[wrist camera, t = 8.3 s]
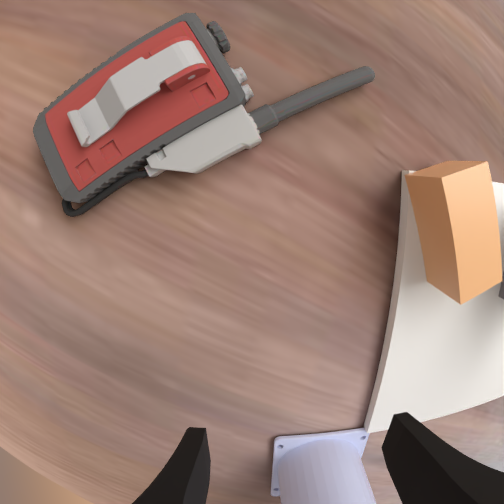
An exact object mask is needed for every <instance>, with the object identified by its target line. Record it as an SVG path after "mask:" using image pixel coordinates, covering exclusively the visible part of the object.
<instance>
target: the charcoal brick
mask: <svg viewBox="0 0 504 504" xmlns="http://www.w3.org/2000/svg"><path fill="white" fill-rule="evenodd" d="M499 297H500V298H502V299H504V271H503V276H502V281H501V286H500V291H499Z"/></svg>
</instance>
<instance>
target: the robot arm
mask: <svg viewBox="0 0 504 504" xmlns="http://www.w3.org/2000/svg"><path fill="white" fill-rule="evenodd" d="M362 436H363V437H362ZM368 436H369V433H367V432H366V430H365V428H358V429H351V430H344V431H336V432H327V433H318V434H307V435H293V436H279V437H276V438H275V440H274V451H273V466H272V480H271V495H272V496H280V499H281V504H376V501H375V498H374V495H373V492H372V489H371V486H370V484H369V481H368V478H367V475H366V472H365V469H364V467H363V464H362V461H361V457H362V454H363V451H364V448H365V445H366V442H367V439H368ZM382 451H383V454H384V458H385V462H386V465H387V468H388V471H389V473H390V476H391V478H392V480H393V483H394V485H395V487H396V489H397V492H398V494H399V496H400V499H401V501H402V503H403V504H504V472H501V471H498V470H495V469H493V468H490V467H488V466H485V465H483V464H481V463H479V462H477V461H475V460H473V459H471V458H469V457H467V456H466V455H464V454H462V453H461V452H459V451H458V450H456V449H455V448H453V447H452V446H450V445H449V444H447V443H446V442H445V441H443V440H442V439H441V438H439V437H438V436H437V435H435V434H434V433H433V432H431V431H430V430H429V429H428V428H426V427H425V426H424V425H423V424H422V423H420V422H419V421H418V420H417V419H415V418H414V417H413V416H412V415H410V414H409V413H408V412H403V413H398V414H394V415H393V418H392V421H391V423H390V426H389V429H388V432H387V435H386V437H385V440H384V443H383V445H382ZM210 462H211V460H210V453H209V447H208V440H207V433H206V428H193V427H189V428H188V429H187V430H186V432H185V434H184V436H183V438H182V440H181V442H180V443H179V445H178V447H177V448H176V450H175V452H174V453H173V455H172V456H171V458H170V459H169V461H168V462H167V464H166V465H165V467H164V468H163V469H162V471H161V472H160V473H159V474H158V476H157V477H156V478H155V479H154V481H153V482H152V483H151V484H150V486H149V487H148V488H147V489H146V490H145V491H144V492H143V493H142V494H141V495H140V496H139V497H138V498H137V499H136V500H135V501H134V502H133V503H132V504H206V498H207V493H208V487H209V480H210Z"/></svg>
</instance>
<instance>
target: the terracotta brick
mask: <svg viewBox="0 0 504 504" xmlns="http://www.w3.org/2000/svg"><path fill="white" fill-rule="evenodd" d="M404 176H405V179H406V183H407V187H408V191H409V194H410V198H411V202H412V207H413V211H414V215H415V220H416V224H417V229H418V234H419V238H420V244H421V249H422V254H423V260H424V266H425V272H426V278H427V282H428V283H430V284H431V285H433V286H434V287H436V288H437V289H439V290H440V291H442V292H443V293H444V294H446V295H447V296H449V297H450V298H452V299H453V300H454V301H456V302H457V303H459V304H460V305H461V304H463V303H465V302H467V301H469V300H470V299H472V298H474V297H476V296H478V295H479V294H481V293H483V292H485V291H486V290H488V289H490V288H491V287H493V286H495V285H496V284H498V283H500V282H501V281H502V260H501V246H500V235H499V226H498V217H497V210H496V203H495V197H494V191H493V185H492V180H491V175H490V170H489V165H488V162H486V161H446V162H443V163H440V164H437V165H434V166H431V167H428V168H425V169H422V170H419V171H416V172H413V173H410V174H407V175H404Z"/></svg>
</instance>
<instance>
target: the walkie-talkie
mask: <svg viewBox="0 0 504 504" xmlns="http://www.w3.org/2000/svg"><path fill="white" fill-rule="evenodd" d="M229 50H230V44H229V41H228V39H227V37H226V35H225V33H224V31H223V30H222V28H221V27H220V26H219V24H218V23H216V22H214V21H212V22H210V23H208V24H207V29H206V28H205V27H204V25H203V24H202V22H201V20H200V19H199V18H198V16H197V15H196V14H195V13H185V14H183V15H181V16H179V17H177V18H175V19H173V20H171V21H169V22H167V23H166V24H164V25H162V26H160V27H158V28H156V29H155V30H153V31H151V32H149V33H148V34H146V35H144V36H143V37H141V38H139V39H138V40H136V41H134V42H133V43H131V44H130V45H128V46H126V47H125V48H123V49H122V50H120V51H119V52H117V54H116V55H114V56H113V57H110V58H109V59H108V60H107V61H106V62H103V63H101V65H100V66H98V67H97V68H94V69H93V71H92V72H90V73H89V74H88V73H87V74H86V75H85V77H84V78H82V79H79V80H78V82H77V83H76V84H74V85H72V86H71V88H69V89H68V90H66V91H64V93H63V94H62V95H61V96H58V97H57V99H56V100H55V101H54V102H51V104H50V105H49V106H48V107H46V108H45V109H44V111H43V112H41V113H39V115H38V118H37V120H36V122H35V125H34V127H33V133H34V136H35V139H36V141H37V144H38V146H39V149H40V151H41V154H42V156H43V158H44V161H45V163H46V165H47V168H48V170H49V172H50V174H51V177H52V179H53V181H54V183H55V185H56V188H57V190H58V192H59V193H60V195H61V196H62V197H63V200H62V206H63V210H64V212H65V213H66V215H68V216H71V217H75V216H78V215H81V214H84V213H85V212H86V211H88V210H89V209H90V208H92V207H93V206H95V205H96V204H97V203H99V202H100V201H101V200H103V199H104V198H106V197H107V196H109V195H110V194H111V193H113V192H114V191H116V190H117V189H119V188H120V187H122V186H123V185H125V184H127V183H128V182H130V181H132V180H133V179H136V178H145V177H147V176H149V177H156V176H157V175H159V174H161V173H162V172H164V171H165V170H172V171H181V172H190V173H201V172H202V171H204V170H206V169H208V168H210V167H211V166H213V165H215V164H217V163H219V162H221V161H222V160H224V159H226V158H228V157H230V156H232V155H234V154H236V153H238V152H240V151H242V150H243V149H251V148H253V147H255V146H257V145H258V144H260V143H261V141H262V140H261V137H260V136H259V134H261V133H263V132H265V131H267V130H269V129H271V128H273V127H275V126H277V125H278V122H279V121H281V120H283V119H285V118H288V117H290V116H292V115H294V114H296V113H298V112H301V111H303V110H305V109H307V108H309V107H312V106H314V105H316V104H318V103H321V102H323V101H325V100H328V99H330V98H332V97H335V96H337V95H340V94H342V93H344V92H347V91H349V90H352V89H354V88H357V87H359V86H362V85H364V84H367V83H369V82H372V81H373V80H374V78H375V73H374V71H373V70H372V68H370V67H367V66H363V67H361V68H358V69H355V70H353V71H350V72H347V73H345V74H342V75H340V76H337V77H335V78H332V79H330V80H327V81H325V82H322V83H320V84H318V85H315V86H313V87H311V88H308V89H306V90H304V91H301V92H299V93H297V94H295V95H292V96H290V97H288V98H286V99H284V100H281V101H279V102H277V103H275V104H273V105H271V106H270V105H267V104H266V105H264V106H262V107H260V108H258V109H256V110H254V111H252V112H250V113H247V112H246V111H245V109H244V106H245V104H246V102H248V99H249V98H251V97H253V96H254V95H253V92H252V90H251V88H250V87H249V85H248V84H246V85H244V86H241V83H242V82H244V81H246V80H247V77H246V74H245V73H244V71H243V69H242V68H241V67H240V68H237V69H235V70H234V69H233V68H230V66H229V65H228V63H227V61H226V60H225V58H224V57H223V55H222V53H225V52H228V51H229ZM221 52H222V53H221ZM147 163H148V165H147V166H146V165H145V164H147ZM140 167H145V170H143V171H138V169H139V168H140ZM87 201H88V202H87ZM71 202H76V203H82V202H87V203H85V204H84V205H83V206H81V207H80V208H78V209H77V210H74V209H73V208H72V206H71Z"/></svg>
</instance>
